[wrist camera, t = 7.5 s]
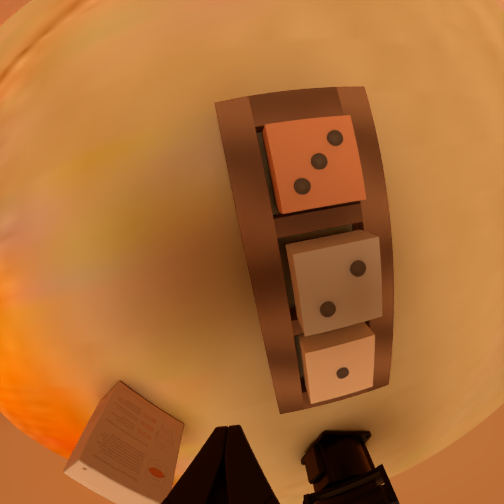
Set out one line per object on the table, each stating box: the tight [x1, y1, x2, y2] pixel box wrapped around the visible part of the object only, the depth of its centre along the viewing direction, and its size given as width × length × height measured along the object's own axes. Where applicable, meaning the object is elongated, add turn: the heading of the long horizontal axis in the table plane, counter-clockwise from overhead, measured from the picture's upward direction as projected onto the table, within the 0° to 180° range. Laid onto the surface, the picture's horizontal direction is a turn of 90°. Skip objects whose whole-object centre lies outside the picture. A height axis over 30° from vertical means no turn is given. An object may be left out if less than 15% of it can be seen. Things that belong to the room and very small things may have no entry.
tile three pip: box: [262, 115, 366, 214], centre depth 15 cm, size 5×5×3 cm
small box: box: [64, 381, 184, 504], centre depth 18 cm, size 8×6×10 cm
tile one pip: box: [298, 322, 375, 404], centre depth 19 cm, size 5×5×3 cm
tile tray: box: [215, 87, 394, 414], centre depth 19 cm, size 24×10×2 cm, turn 11°
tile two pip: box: [286, 230, 382, 337], centre depth 16 cm, size 5×5×3 cm
